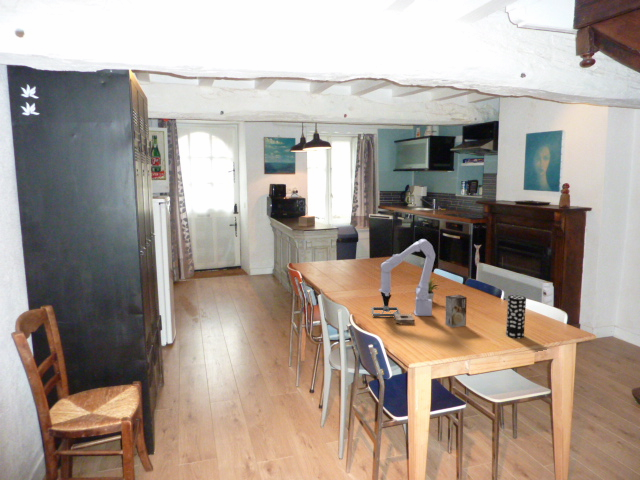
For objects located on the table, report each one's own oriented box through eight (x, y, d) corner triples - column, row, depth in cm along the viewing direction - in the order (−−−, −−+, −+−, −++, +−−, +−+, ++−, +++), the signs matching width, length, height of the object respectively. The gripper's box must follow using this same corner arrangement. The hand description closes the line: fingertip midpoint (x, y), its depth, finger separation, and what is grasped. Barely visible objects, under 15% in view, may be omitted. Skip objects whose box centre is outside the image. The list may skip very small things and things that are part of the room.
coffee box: (459, 322, 255) (460, 294, 253) (466, 326, 249) (467, 297, 247) (444, 324, 253) (445, 295, 251) (451, 327, 247) (452, 298, 245)
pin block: (411, 318, 263) (411, 314, 263) (414, 324, 253) (414, 319, 253) (394, 318, 263) (394, 314, 263) (396, 324, 254) (396, 319, 253)
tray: (397, 310, 279) (397, 307, 279) (400, 317, 265) (400, 314, 265) (371, 310, 280) (371, 307, 280) (372, 317, 266) (372, 313, 266)
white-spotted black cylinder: (519, 332, 238) (521, 295, 235) (527, 338, 230) (529, 299, 227) (503, 333, 238) (505, 295, 235) (510, 338, 230) (512, 299, 227)
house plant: (422, 305, 288) (422, 280, 286) (412, 300, 302) (412, 275, 299) (442, 303, 292) (443, 278, 290) (431, 298, 305) (432, 274, 303)
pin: (389, 309, 273) (389, 296, 273) (389, 311, 270) (389, 297, 269) (382, 309, 274) (382, 296, 273) (382, 311, 270) (382, 297, 270)
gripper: (378, 279, 277) (378, 301, 279) (380, 285, 263) (379, 308, 265) (389, 279, 277) (389, 301, 279) (392, 285, 263) (392, 308, 265)
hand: (385, 304), depth 272 cm, fingers closed on pin, 3 cm apart
